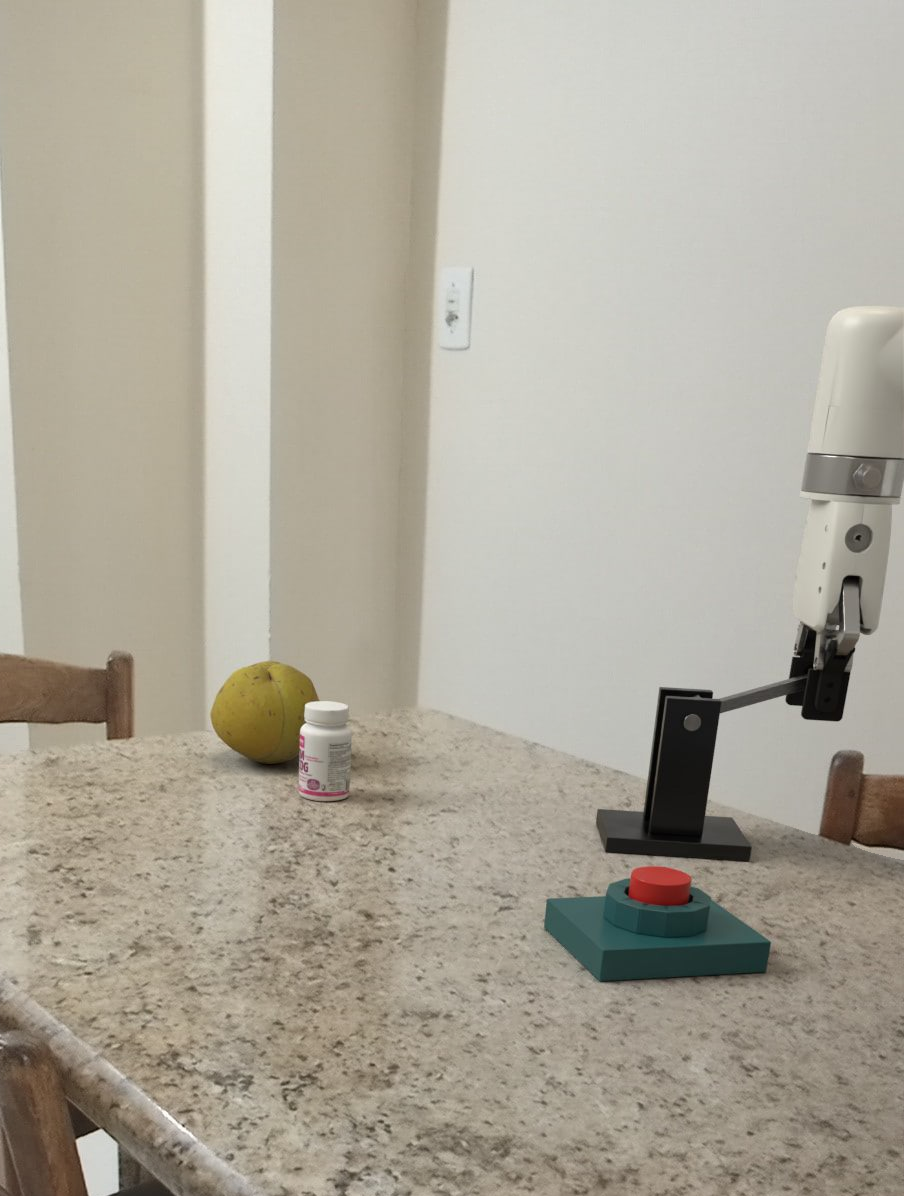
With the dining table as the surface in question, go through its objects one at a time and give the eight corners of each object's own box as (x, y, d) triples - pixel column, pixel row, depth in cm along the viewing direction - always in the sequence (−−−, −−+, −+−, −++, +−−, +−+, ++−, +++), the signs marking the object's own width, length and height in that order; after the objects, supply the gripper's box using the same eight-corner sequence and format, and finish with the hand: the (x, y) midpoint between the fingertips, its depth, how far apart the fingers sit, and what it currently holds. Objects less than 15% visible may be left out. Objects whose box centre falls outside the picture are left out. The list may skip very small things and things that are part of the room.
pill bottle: (287, 793, 128) (289, 702, 125) (326, 786, 131) (329, 698, 128) (320, 805, 125) (323, 712, 121) (359, 797, 128) (363, 707, 124)
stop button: (672, 889, 95) (675, 864, 95) (698, 908, 92) (702, 883, 91) (618, 891, 94) (621, 866, 94) (643, 910, 91) (646, 885, 90)
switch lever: (823, 683, 116) (818, 656, 115) (838, 695, 111) (833, 666, 110) (669, 727, 118) (663, 700, 117) (677, 740, 113) (671, 712, 112)
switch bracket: (730, 831, 123) (752, 688, 118) (749, 861, 115) (773, 708, 110) (595, 822, 124) (612, 679, 119) (605, 852, 115) (623, 699, 110)
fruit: (344, 761, 140) (348, 662, 137) (275, 782, 131) (277, 677, 128) (258, 743, 146) (260, 648, 142) (186, 762, 137) (186, 661, 133)
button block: (697, 920, 100) (704, 868, 99) (766, 972, 91) (776, 915, 90) (543, 927, 97) (548, 873, 96) (599, 981, 88) (606, 923, 87)
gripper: (935, 490, 99) (887, 738, 106) (871, 479, 115) (832, 696, 122) (830, 484, 100) (789, 731, 106) (780, 474, 115) (747, 690, 122)
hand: (812, 710), depth 114 cm, fingers closed on switch lever, 5 cm apart
